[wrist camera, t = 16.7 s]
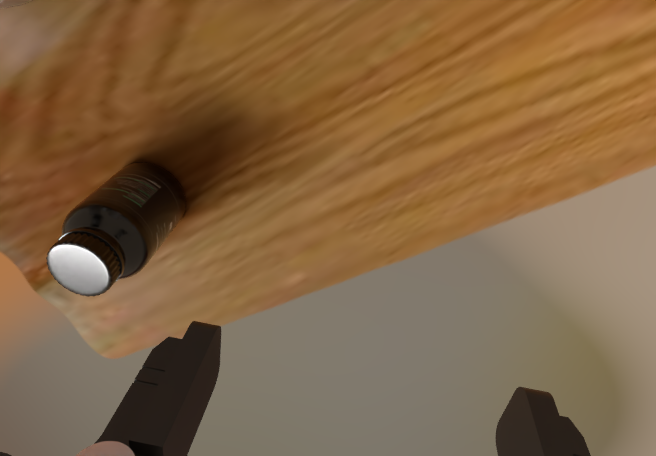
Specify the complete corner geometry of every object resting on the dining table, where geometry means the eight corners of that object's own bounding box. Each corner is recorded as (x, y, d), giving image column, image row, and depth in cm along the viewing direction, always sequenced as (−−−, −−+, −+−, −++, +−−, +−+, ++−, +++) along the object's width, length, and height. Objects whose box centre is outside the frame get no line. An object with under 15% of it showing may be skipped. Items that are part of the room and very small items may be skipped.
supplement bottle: (175, 237, 46) (113, 321, 36) (109, 205, 45) (25, 282, 35) (197, 182, 43) (135, 257, 33) (126, 146, 42) (39, 212, 32)
